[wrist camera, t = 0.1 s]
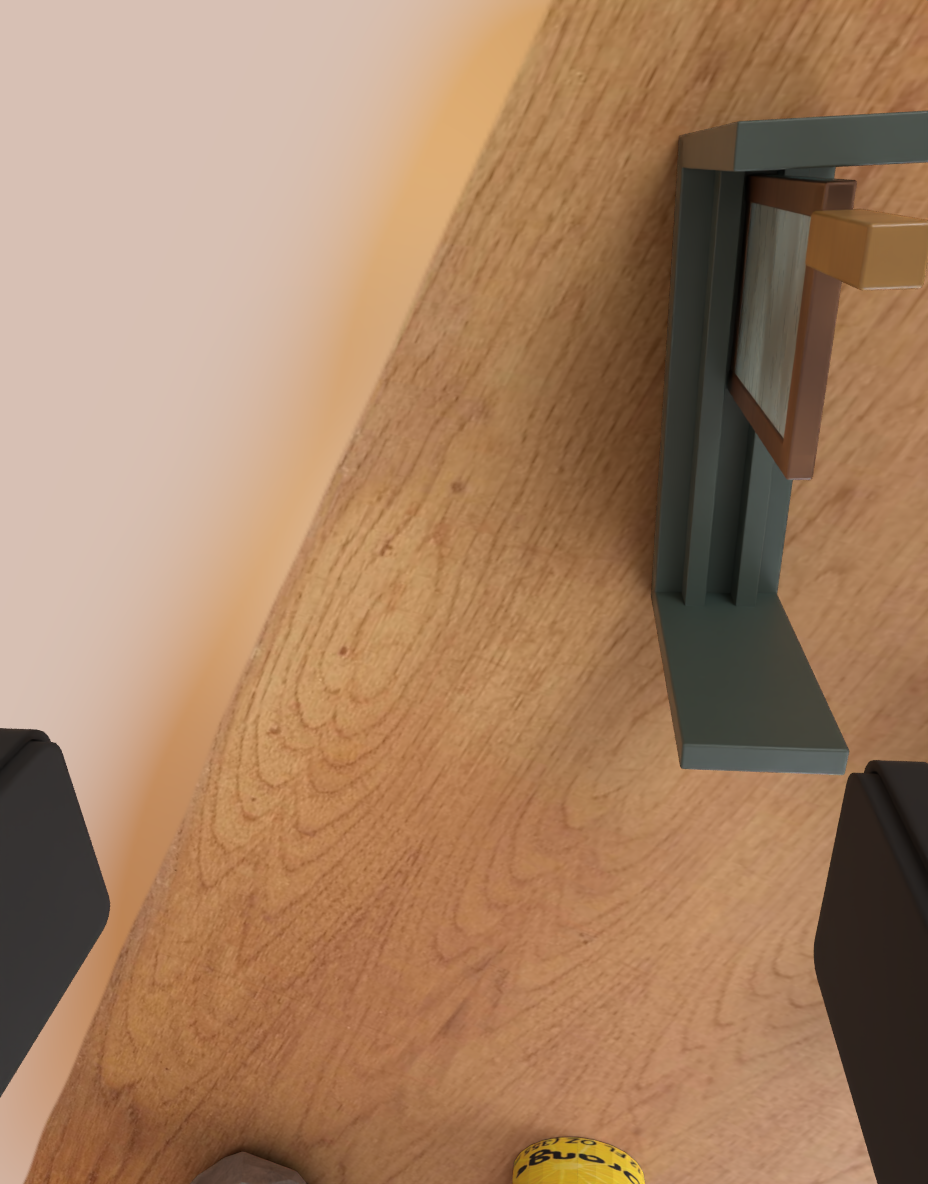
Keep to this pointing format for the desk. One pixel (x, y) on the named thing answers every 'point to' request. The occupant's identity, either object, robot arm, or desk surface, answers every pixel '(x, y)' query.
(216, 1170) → the potted plant
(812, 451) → the window sash
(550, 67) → the desk surface
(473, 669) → the desk surface
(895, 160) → the window frame
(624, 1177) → the beverage can
